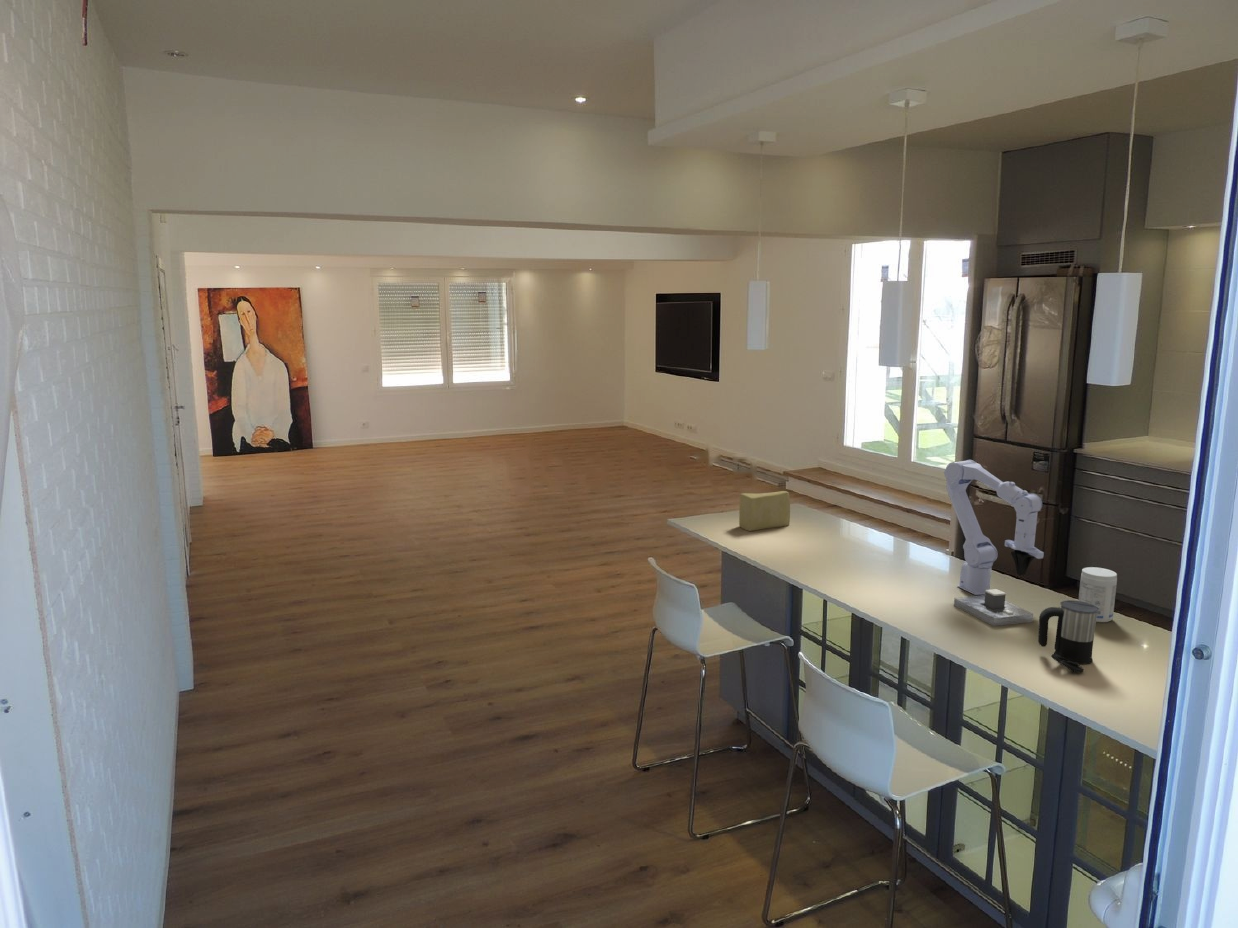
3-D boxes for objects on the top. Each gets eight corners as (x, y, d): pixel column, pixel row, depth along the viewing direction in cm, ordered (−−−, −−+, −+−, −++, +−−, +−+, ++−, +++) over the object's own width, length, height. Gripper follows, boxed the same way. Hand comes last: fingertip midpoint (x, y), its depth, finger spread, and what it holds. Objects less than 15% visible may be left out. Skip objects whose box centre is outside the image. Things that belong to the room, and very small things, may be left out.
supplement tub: (1095, 610, 261) (1100, 565, 258) (1120, 621, 252) (1126, 575, 249) (1069, 613, 259) (1074, 567, 256) (1093, 624, 250) (1099, 577, 247)
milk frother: (1080, 651, 231) (1086, 599, 228) (1115, 675, 215) (1122, 620, 212) (1029, 651, 230) (1035, 599, 227) (1061, 675, 215) (1067, 621, 212)
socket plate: (953, 605, 265) (954, 596, 264) (990, 601, 269) (991, 592, 268) (993, 626, 248) (994, 616, 247) (1032, 621, 252) (1033, 611, 251)
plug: (983, 610, 260) (985, 590, 258) (994, 608, 261) (996, 588, 260) (992, 614, 256) (994, 594, 255) (1003, 613, 257) (1005, 593, 256)
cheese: (782, 522, 367) (784, 488, 364) (794, 527, 358) (796, 493, 355) (737, 526, 359) (739, 492, 357) (748, 532, 350) (750, 497, 348)
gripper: (998, 527, 268) (994, 568, 271) (1031, 539, 255) (1027, 582, 257) (1016, 526, 270) (1012, 566, 273) (1050, 538, 256) (1046, 580, 259)
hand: (1021, 574), depth 265 cm, fingers closed
